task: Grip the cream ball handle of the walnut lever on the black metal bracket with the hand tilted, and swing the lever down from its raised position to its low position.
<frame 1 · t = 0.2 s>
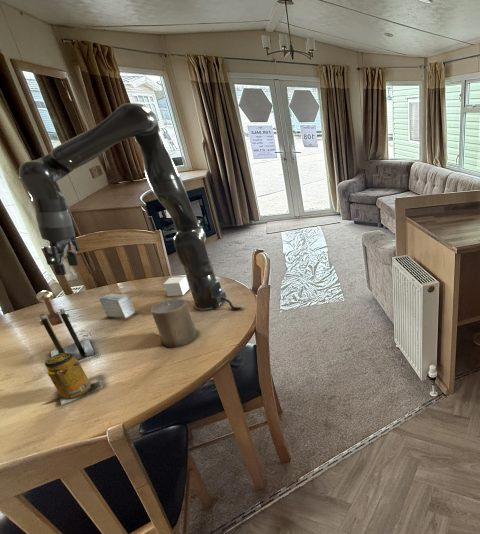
hand: (67, 269, 115), 23 cm above the table, tool pointing down, fingers open, 8 cm apart
bracket: (74, 355, 109), on the table
condiment: (81, 390, 96), on the table
pillar candle: (180, 339, 118), on the table
white cube: (178, 292, 148), on the table
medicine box: (122, 316, 130), on the table
lever: (49, 307, 105), point 16 cm above the table, hinge at 22.0°
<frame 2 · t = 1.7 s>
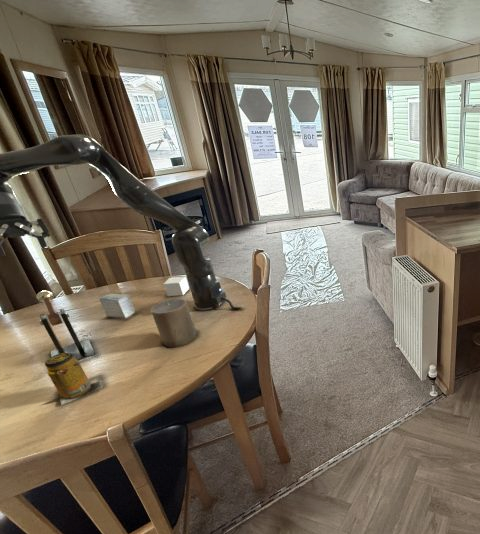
hand: (24, 251, 109), 31 cm above the table, tool tilted 45°, fingers open, 8 cm apart
nothing on the table moved.
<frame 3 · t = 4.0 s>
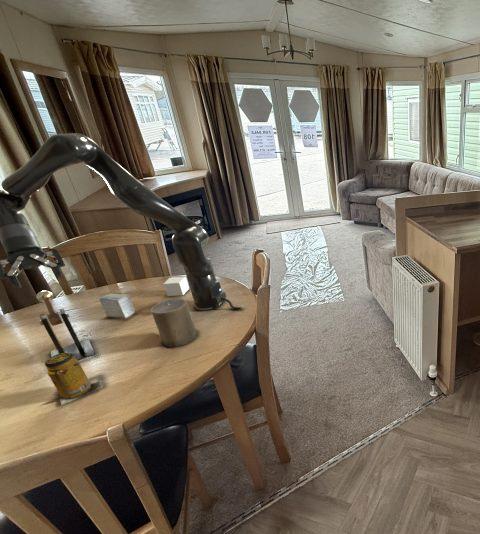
hand: (39, 282, 109), 21 cm above the table, tool tilted 45°, fingers open, 8 cm apart
nothing on the table moved.
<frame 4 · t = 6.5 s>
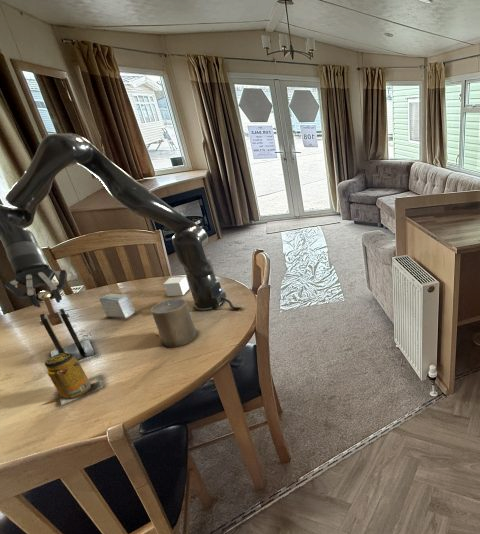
hand: (48, 303, 107), 16 cm above the table, tool tilted 45°, fingers closed on lever, 3 cm apart
lever: (49, 307, 105), point 16 cm above the table, hinge at 22.0°, touching gripper
everything else where it was.
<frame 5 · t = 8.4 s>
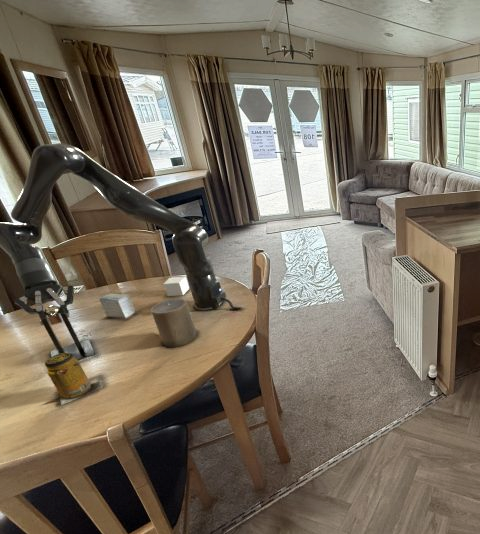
hand: (56, 319, 110), 10 cm above the table, tool tilted 45°, fingers closed on lever, 3 cm apart
lever: (53, 314, 107), point 13 cm above the table, hinge at -8.7°, touching gripper
everything else where it was.
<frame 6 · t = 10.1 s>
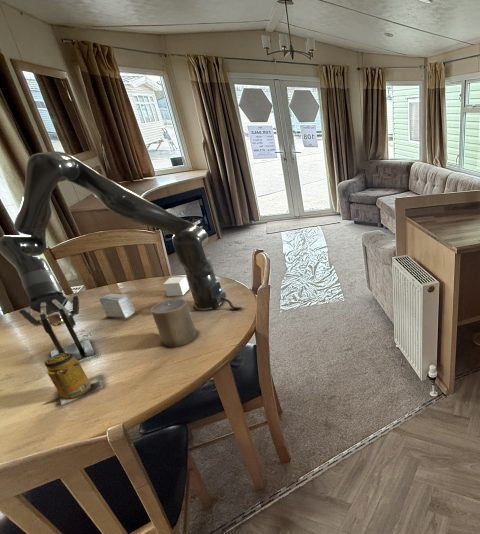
hand: (62, 329, 111), 6 cm above the table, tool tilted 45°, fingers open, 4 cm apart
lever: (56, 320, 107), point 11 cm above the table, hinge at -27.3°
everything else where it was.
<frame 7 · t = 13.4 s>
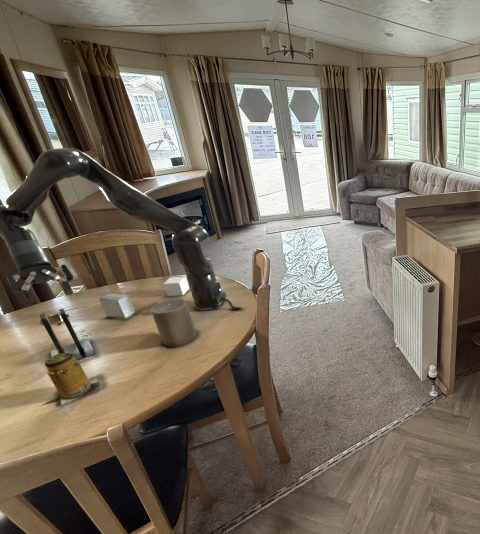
hand: (50, 296, 116), 13 cm above the table, tool tilted 40°, fingers open, 8 cm apart
nothing on the table moved.
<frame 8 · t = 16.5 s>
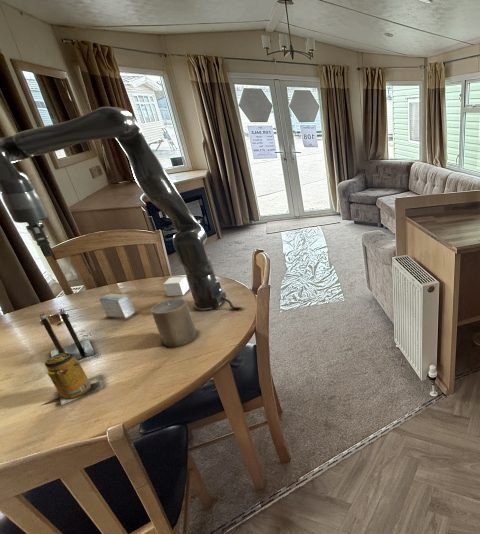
hand: (48, 252, 114), 28 cm above the table, tool pointing down, fingers open, 8 cm apart
nothing on the table moved.
at the end: lever at -27° (first picture: +22°); the gripper is holding nothing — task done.
